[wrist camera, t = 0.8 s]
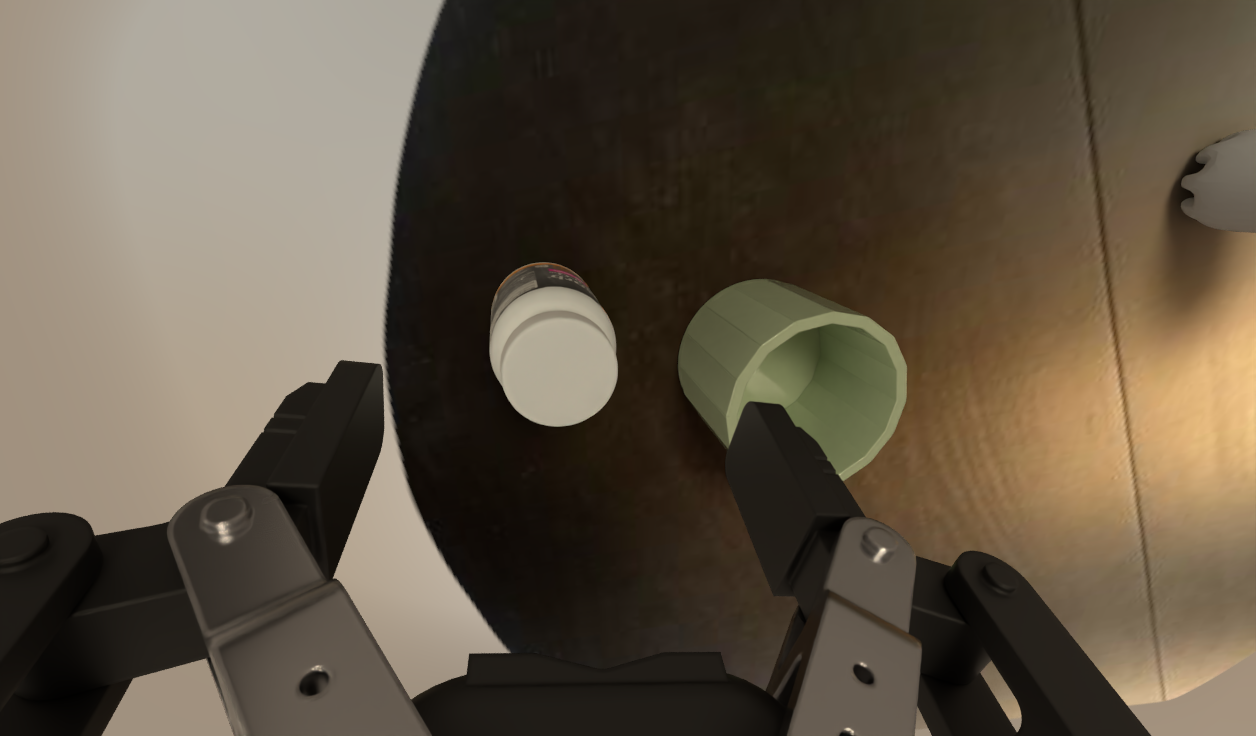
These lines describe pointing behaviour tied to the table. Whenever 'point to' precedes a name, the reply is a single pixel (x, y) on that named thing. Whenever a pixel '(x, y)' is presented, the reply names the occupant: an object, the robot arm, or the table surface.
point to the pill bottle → (552, 345)
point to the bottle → (1225, 184)
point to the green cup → (795, 368)
